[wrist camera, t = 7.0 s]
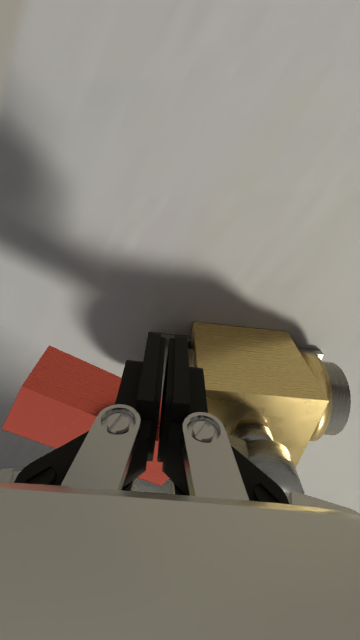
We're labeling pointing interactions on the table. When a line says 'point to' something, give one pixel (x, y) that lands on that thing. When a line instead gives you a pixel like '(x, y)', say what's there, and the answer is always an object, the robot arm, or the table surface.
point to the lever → (95, 395)
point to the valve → (268, 385)
